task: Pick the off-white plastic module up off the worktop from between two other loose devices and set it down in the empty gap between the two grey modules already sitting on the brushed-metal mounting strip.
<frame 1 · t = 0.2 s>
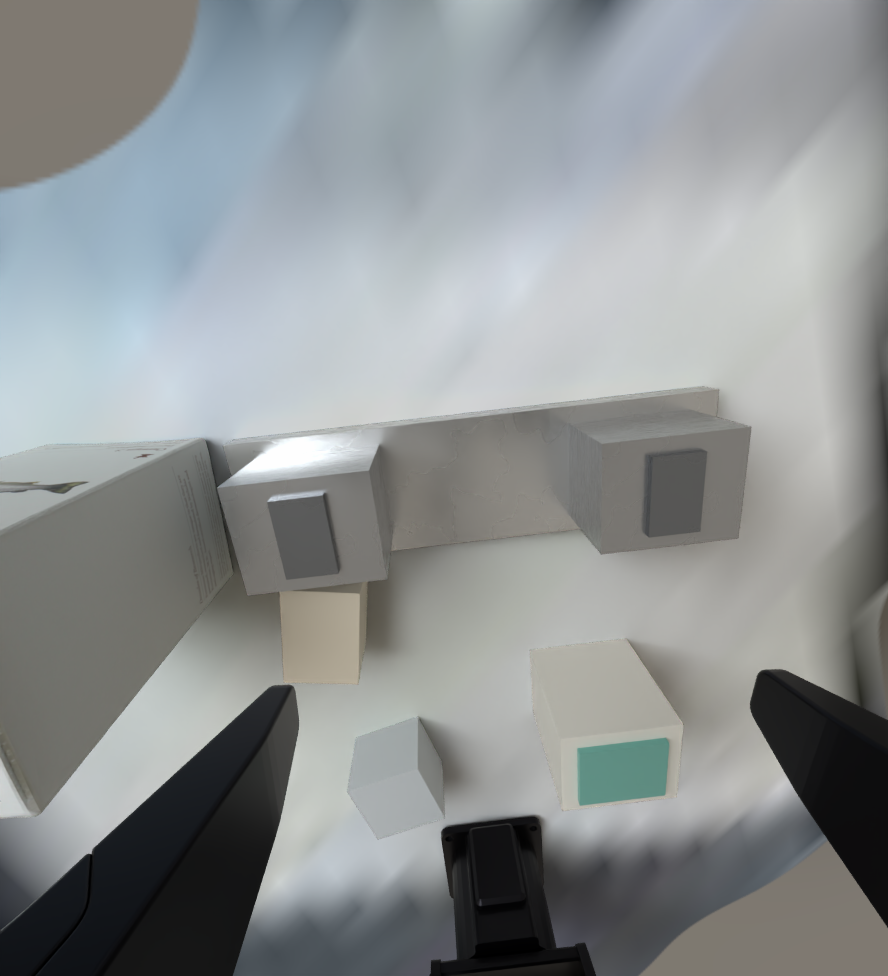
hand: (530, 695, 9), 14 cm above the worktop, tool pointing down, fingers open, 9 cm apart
supplement box: (148, 509, 22), on the worktop
rail: (474, 474, 22), on the worktop
beige block: (334, 597, 24), on the worktop
module: (578, 675, 26), on the worktop
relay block: (399, 748, 28), on the worktop
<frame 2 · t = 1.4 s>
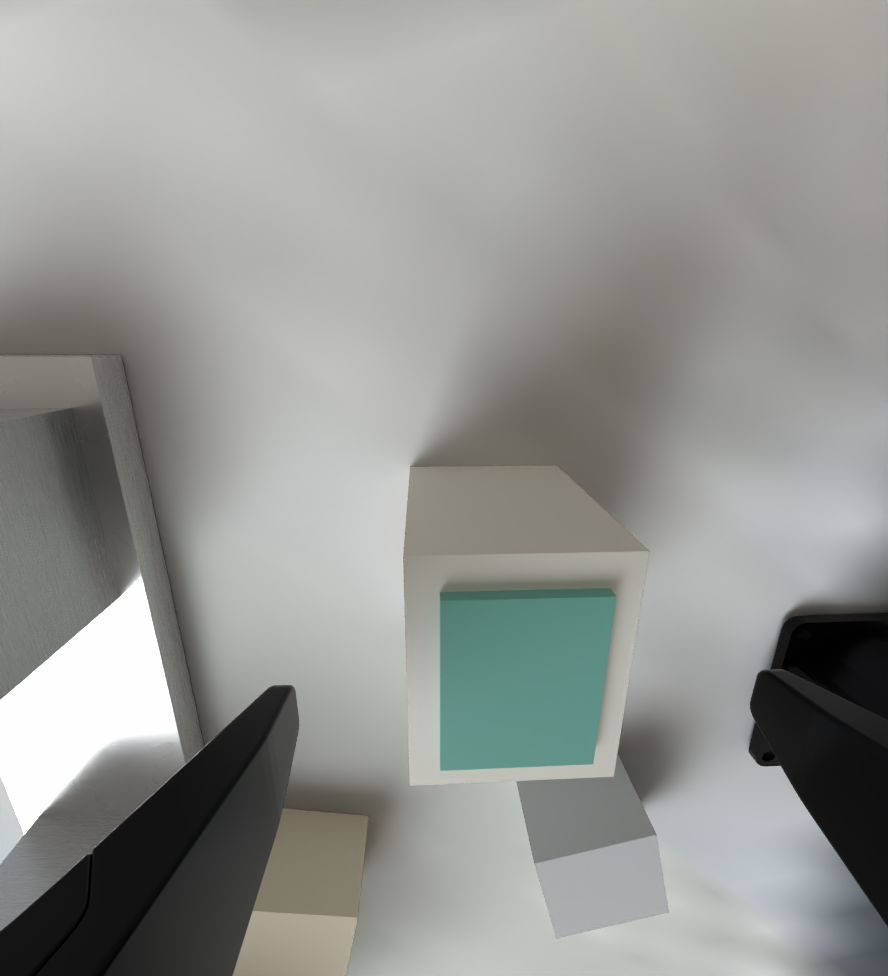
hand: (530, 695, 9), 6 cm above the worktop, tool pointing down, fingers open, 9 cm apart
rail: (101, 687, 16), on the worktop
beige block: (301, 838, 19), on the worktop
module: (481, 547, 15), on the worktop
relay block: (570, 789, 18), on the worktop
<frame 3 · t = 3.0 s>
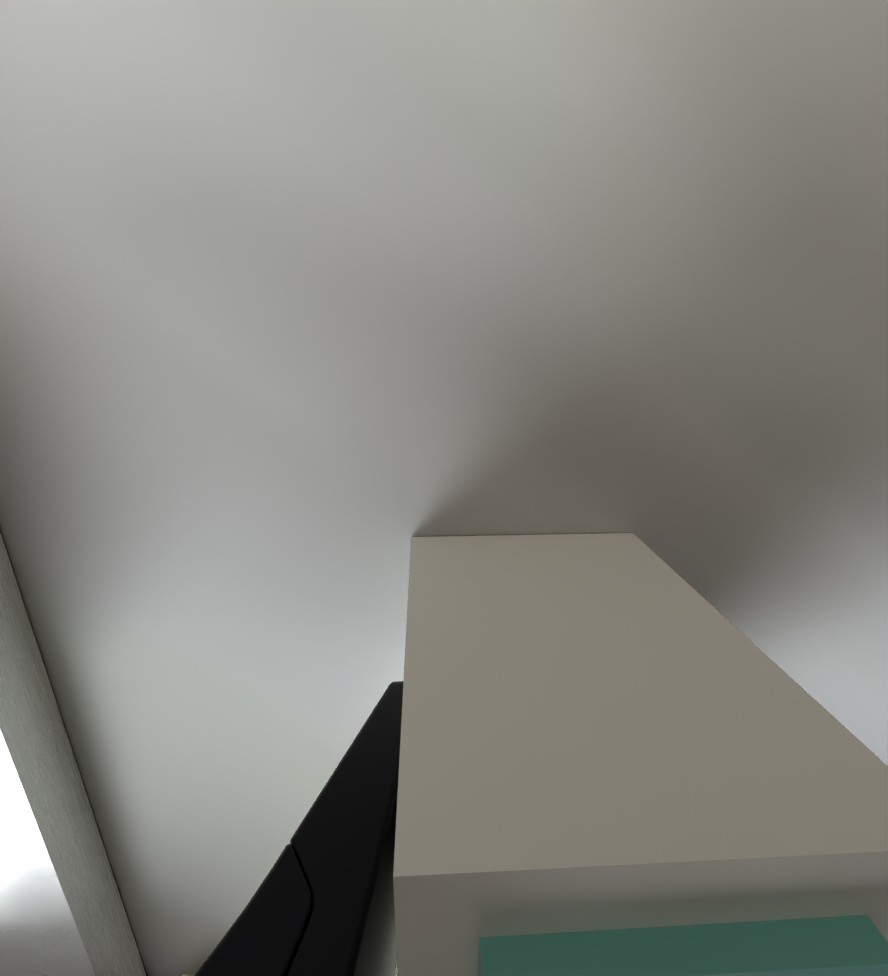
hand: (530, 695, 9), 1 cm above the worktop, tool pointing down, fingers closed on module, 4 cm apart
module: (516, 649, 10), on the worktop, touching gripper
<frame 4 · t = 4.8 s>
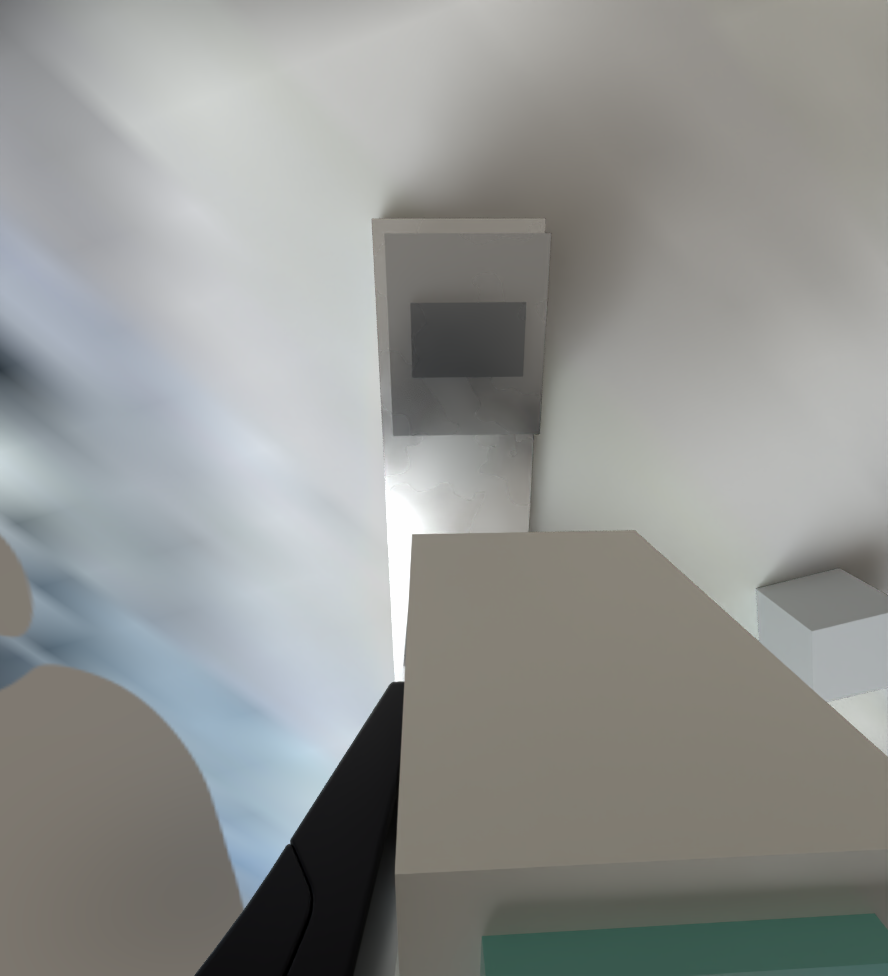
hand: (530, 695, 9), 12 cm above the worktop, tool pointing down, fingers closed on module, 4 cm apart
rail: (456, 506, 20), on the worktop
module: (517, 647, 10), point 11 cm above the worktop, touching gripper
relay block: (796, 611, 23), on the worktop
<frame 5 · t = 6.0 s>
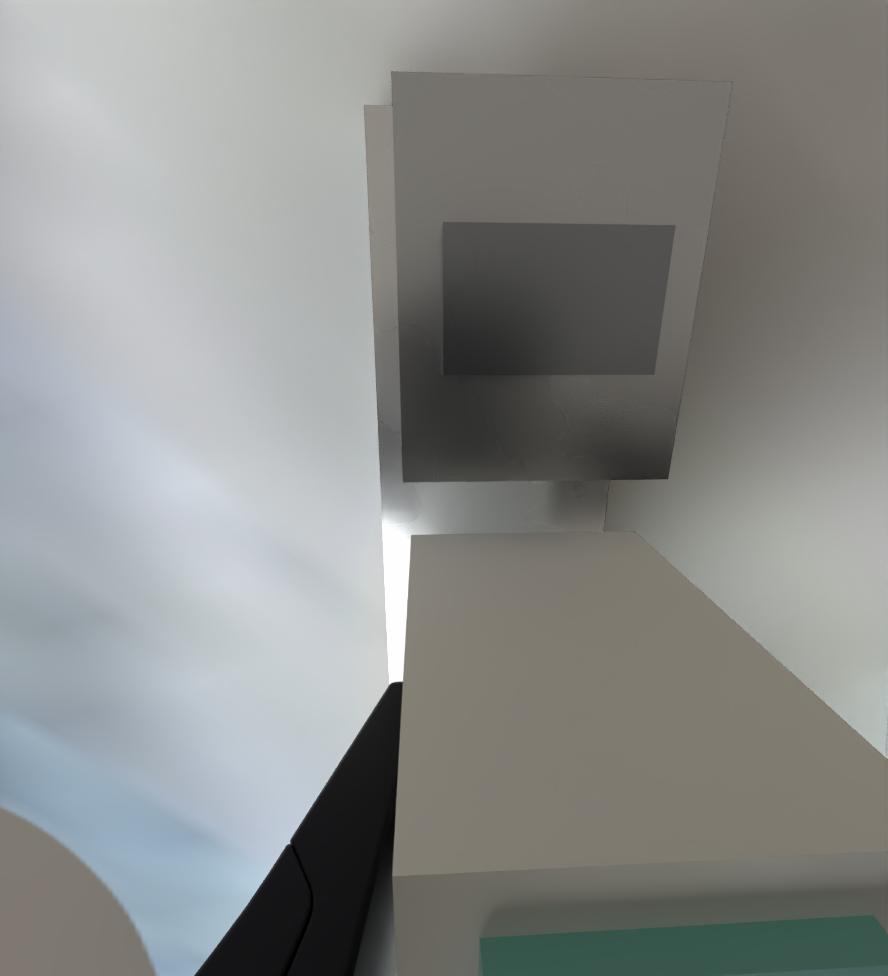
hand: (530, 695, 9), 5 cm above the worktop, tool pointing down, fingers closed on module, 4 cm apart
rail: (486, 563, 14), on the worktop
module: (516, 648, 10), point 4 cm above the worktop, touching gripper
when the fingers open (4 cm above the worktop, at t = 7.0 s): module drops 2 cm, resting on rail.
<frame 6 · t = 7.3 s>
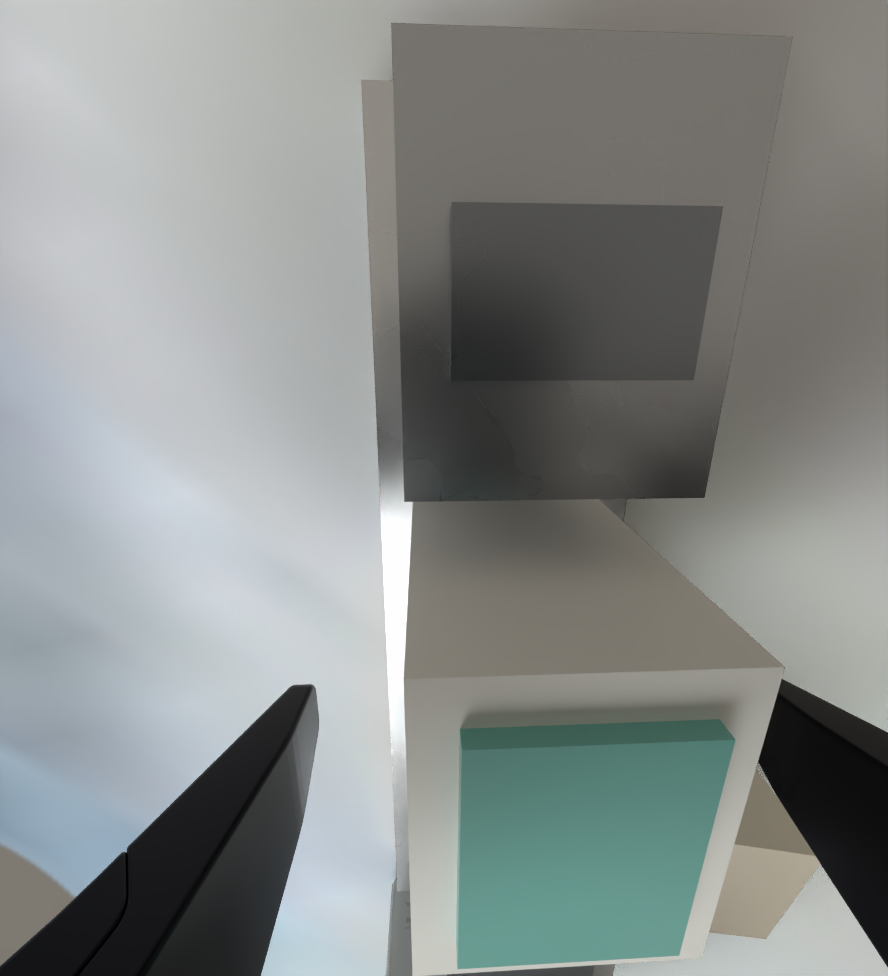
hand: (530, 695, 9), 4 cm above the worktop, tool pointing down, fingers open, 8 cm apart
supplement box: (478, 929, 18), on the worktop
rail: (493, 578, 13), on the worktop
beige block: (654, 774, 16), on the worktop
module: (501, 599, 12), point 1 cm above the worktop, touching rail
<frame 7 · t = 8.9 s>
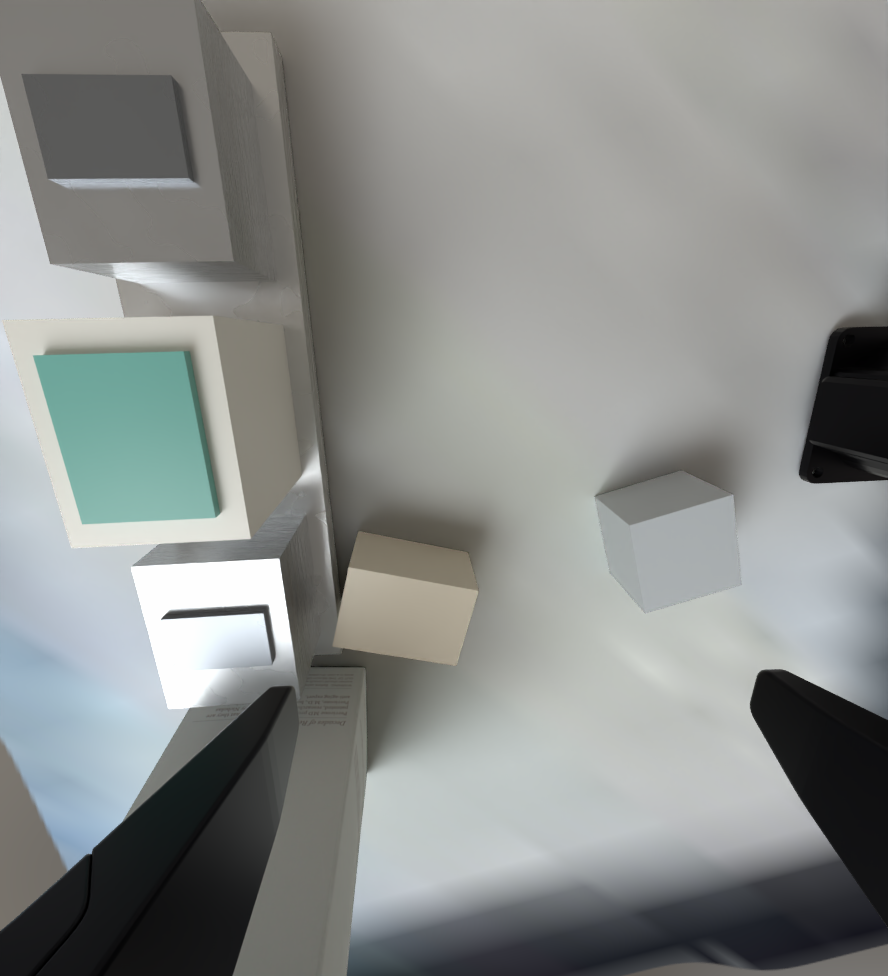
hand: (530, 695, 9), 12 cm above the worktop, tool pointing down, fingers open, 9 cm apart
supplement box: (295, 721, 23), on the worktop
rail: (241, 404, 18), on the worktop
beige block: (405, 574, 21), on the worktop
module: (230, 406, 17), point 1 cm above the worktop, touching rail
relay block: (643, 522, 21), on the worktop
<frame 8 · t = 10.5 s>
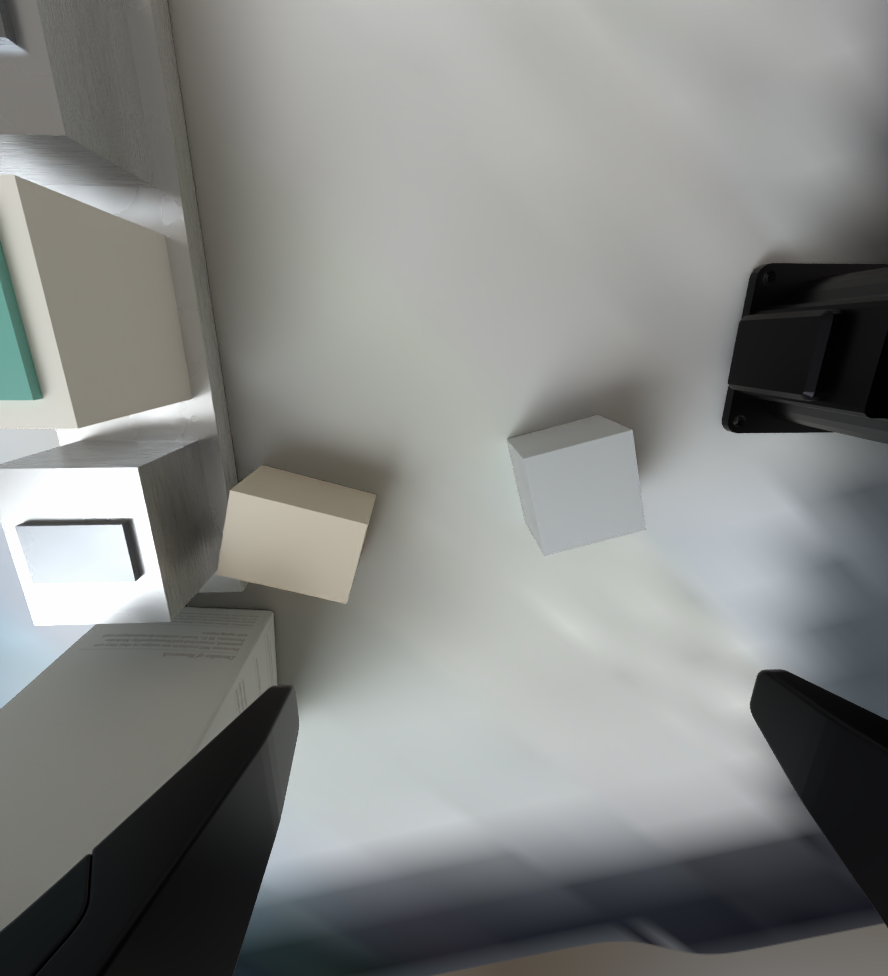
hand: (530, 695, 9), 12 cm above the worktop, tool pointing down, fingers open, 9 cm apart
supplement box: (205, 666, 23), on the worktop
rail: (134, 324, 17), on the worktop
beige block: (312, 515, 20), on the worktop
module: (114, 321, 16), point 1 cm above the worktop, touching rail
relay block: (559, 469, 20), on the worktop
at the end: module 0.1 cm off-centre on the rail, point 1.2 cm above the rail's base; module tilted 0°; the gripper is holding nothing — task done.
